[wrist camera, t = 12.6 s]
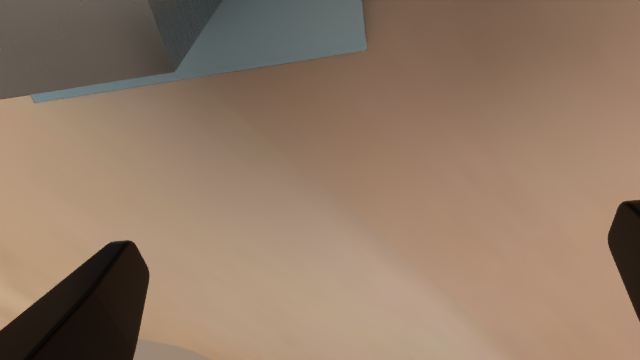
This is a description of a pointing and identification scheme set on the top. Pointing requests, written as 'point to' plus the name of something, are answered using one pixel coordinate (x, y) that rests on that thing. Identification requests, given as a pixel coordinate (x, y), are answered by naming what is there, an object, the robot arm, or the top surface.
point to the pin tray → (255, 40)
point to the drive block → (93, 41)
